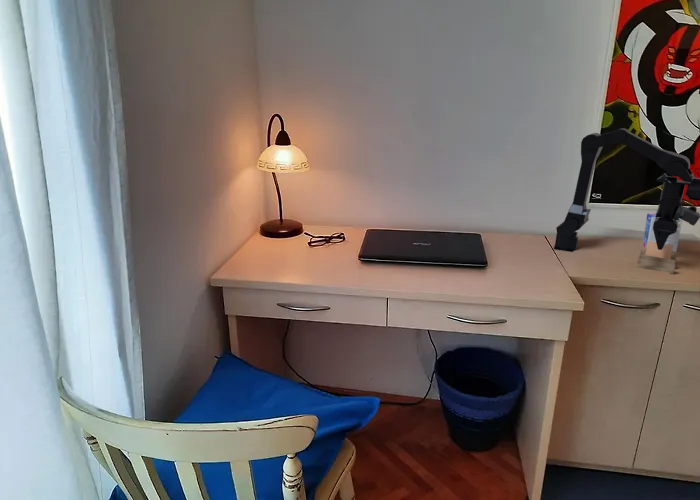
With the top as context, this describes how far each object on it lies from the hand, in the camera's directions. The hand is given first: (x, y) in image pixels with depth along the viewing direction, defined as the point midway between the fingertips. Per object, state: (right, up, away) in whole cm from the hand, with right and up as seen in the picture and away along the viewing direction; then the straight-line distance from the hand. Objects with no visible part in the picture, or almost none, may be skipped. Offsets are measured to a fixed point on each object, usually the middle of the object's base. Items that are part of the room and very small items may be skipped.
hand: (660, 245), depth 169 cm
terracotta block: (0, -6, +2) cm, 6 cm away
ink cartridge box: (+9, -1, +17) cm, 19 cm away
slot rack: (-1, -7, 0) cm, 7 cm away
